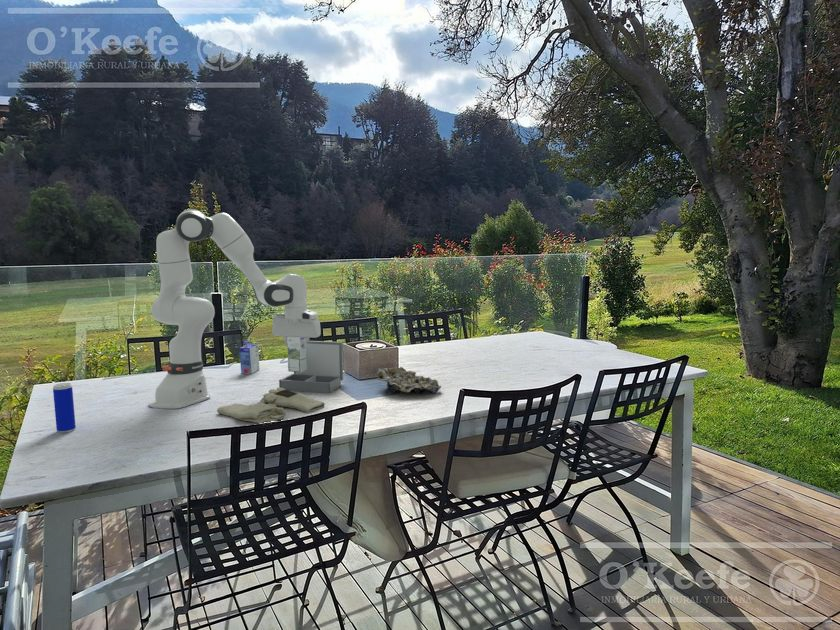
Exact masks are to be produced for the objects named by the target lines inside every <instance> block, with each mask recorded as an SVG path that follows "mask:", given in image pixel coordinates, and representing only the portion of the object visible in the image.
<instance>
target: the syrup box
mask: <svg viewBox="0 0 840 630" xmlns="http://www.w3.org/2000/svg"><path fill="white" fill-rule="evenodd" d="M304 342H305V340H304V337H287V343H288V347H287V369H288V370H287V371H288V372H290V373H292V372H293V373H294V372H303V371H305V370H306V369H307V367H306V348H302V344H303V343H304Z"/></svg>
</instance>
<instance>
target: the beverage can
mask: <svg viewBox="0 0 840 630" xmlns="http://www.w3.org/2000/svg"><path fill="white" fill-rule="evenodd" d="M52 393H53V404H54V417H55V426H56V427H55V428H56V431H57V432H58V433H61V434H62V433H70V432H73V431H75V430H76V427H77V426H76V416H75V405H74V392H73V385H72V383H70V382H62V383H56V384H54V385H53V388H52Z"/></svg>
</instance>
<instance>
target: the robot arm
mask: <svg viewBox="0 0 840 630" xmlns="http://www.w3.org/2000/svg"><path fill="white" fill-rule="evenodd" d="M175 221H176V222H175V225H174V227H173V228H172V229H168V230H164V231H162V232H160V233H159V234H157V237H156V243H155V244H156V250H155V251H156V257H157V258H156V260H157V265H158V271H159V276H160V277H159V278H160V289H159V294H158V296H157V298H156V299H155V300H154V301H153V303H152V305H151V310H150V311H151V315H152V317H153V319H154V320H155V321H156V322H159V323H160V324H161V323H162V324H164V325H169V326H170V325H171V326H178V331H177V334H176V335H175V336H174V337H173V338H171V340H170V341H169V344H168V347H169V348H168V349H169V363H168V365H163V366H162V371H163V372H167V374H166V375H165V377H164V378H163V379H162V381H161V382H160V383H159V384H158V386H157V387H156V389H155V395H154V397H155V398H154V399H153V400H151V401H150V402H148V407H151V408H156V409H166V410H167V409H170V410H171V409H182V408H184V407H187V406H191V405H193V404H194V405H195V404H197V403H199V402H203V401H207V400H209V399H211V396H210V394H209V392H208V387H207V386H208V385H207V380H206V377H205V375H204V371H203V369H204V362H203V359H202V339H203V338H202V337H203V333H204V331H205V329H206V328H207V326H208V325H209V324H211V323H212V321H213V319H214V318H215V314H216V312H215V311H216V310H215V306H214V305H213V303H212V302H211V300H209V299H206V298H203V297H198V296H187V295H186V289H187V286H188V285H190V284H191V283H192V282H193V279H194V274H193V268H192V263H191V258H190V257H191V256H190V250H189V249H190V248H189V245H190V243H191V242H192V243H194V242H200V241H202V240H206V239H209V238H210V239H211V240H212V241H214V242H215V244H216V245H217V246H218V248H219V249H220V250H221V252H222V253H223V254H224V255H225V256H226V257H227V259H229V261H231V262H232V263H233V264H234V265H236V267H237V268H238V269H239V270H240V272H241V273H242V274H243V275H244V277H245V278H246V279H247V281H248V282H249V284H250V285H251V287H252V290H253V293H254V297H255V299H256V301H257V303H259V304H260V305H262V306H265V307H267V306H268V307H273V308H276V307H277V308H278V307H282V306H284V313H283V312H282V313H279V312H277V313H275V314H273V316H272V326H271V327H272V328H271V334H272V335H273V336H274V337H282V339H283V341H284V343H285V348H288V343H287V337H304V340H305V342H304V343H303V344H302V348H307V343H308V341H310V340H311V339H312V338H313V339H314V338H315V339H316V338H320V336H321V334H322V332H321V322H320V320H319V316H320V315H319V313H318V312H316V311H313V310H310V309H308V305H307V295H308V292H307V289H308V288H307V282H306V279H305V276H303V275H302V274H301V275H300V274H295V273H286V274H285V275H284V276H283V277H281V278H279V279H277V280H274V281H271V280H269V279H268V278H267V277H266V276H265V275H264V273H263V272H262V270H261V269H260V267H259V265H257V264H256V261H255V258H254V253H255V247H254V245H253V243H252V240H251V239H250V237H249V235H247V233H246V232H245V231H244V229H243V228H242V227H241V225H240V224H239V223H238V222H237V221H236V220H235V219H234V218H233V217H232V216H231V215H230V214H228V213H226V212H219V213H215V214H214V215H212V216H210V217H209V216H206V215H205V214H204V212H202V211H200V210H199V209H194V208H188V209H185V210H184V211H181V213H180V214H179V215H178V216H177V219H176V220H175ZM310 338H311V339H310Z"/></svg>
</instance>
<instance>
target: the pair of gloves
mask: <svg viewBox="0 0 840 630" xmlns="http://www.w3.org/2000/svg"><path fill="white" fill-rule="evenodd" d="M324 407H325V402H324V401H322V400H318V399H314V398H312V397H311V398H310V397H309V396H306V395H304V394H302V393H300V392H298V391H290V390H286V389H284V388H280V387H279V386H278V387H277V388H276V389H275V388H274V389H269V390H268V393H264V394H263V397H262V398H261V400H260V401H259V402H257V403H252V404H249V405H248V404H241V403H233V404H232V403H231V404H228V405H223V406H220V407H217V409H216V412H217V413H218V414H220V415H224V416H227V417H231V418H234V419H237V420H239V421H244V422H251V423H253V424H254V423H255V424H257V423H264V422H271V421H277V422H278V421H279V420H283V419H284V418H285V417H286V416H287V414H286V413H287V412H286V411H285V409H284V408H288V409H296V410H299V411H300V412H304V413H312V412H314V411H316V410H320V409H322V408H324Z"/></svg>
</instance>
